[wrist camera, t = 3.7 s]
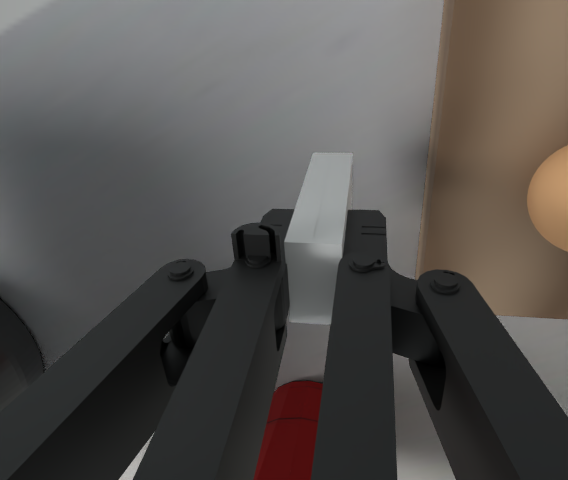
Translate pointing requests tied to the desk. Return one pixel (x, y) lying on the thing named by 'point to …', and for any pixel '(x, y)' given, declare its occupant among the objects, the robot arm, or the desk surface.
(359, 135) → the desk surface
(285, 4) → the desk surface
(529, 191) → the ball
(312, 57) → the desk surface
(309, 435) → the plastic cup
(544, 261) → the board
